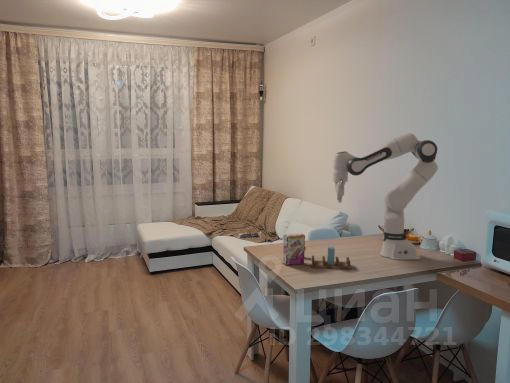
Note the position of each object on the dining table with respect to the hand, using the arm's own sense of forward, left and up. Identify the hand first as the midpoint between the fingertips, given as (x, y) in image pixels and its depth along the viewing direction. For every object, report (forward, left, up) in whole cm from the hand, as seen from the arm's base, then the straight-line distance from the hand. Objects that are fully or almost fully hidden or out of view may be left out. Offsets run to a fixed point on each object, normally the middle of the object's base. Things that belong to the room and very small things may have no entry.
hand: (339, 201), depth 250 cm
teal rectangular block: (+6, +31, -30) cm, 43 cm away
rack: (+6, +31, -31) cm, 44 cm away
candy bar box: (+26, +30, -31) cm, 51 cm away
